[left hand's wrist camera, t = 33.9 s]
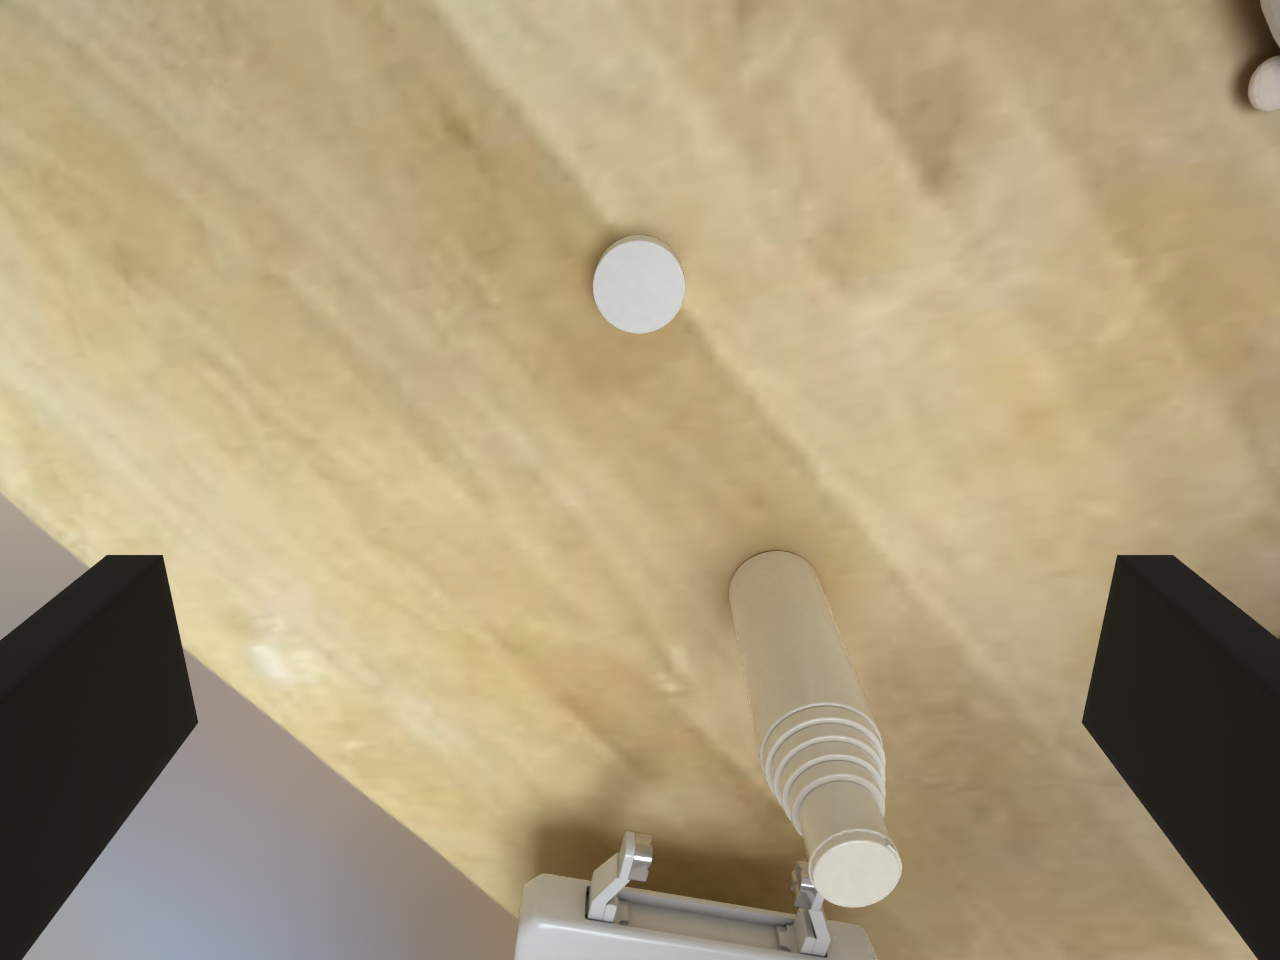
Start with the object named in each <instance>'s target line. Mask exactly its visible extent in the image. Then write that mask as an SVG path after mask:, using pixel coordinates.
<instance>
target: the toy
mask: <svg viewBox="0 0 1280 960" xmlns="http://www.w3.org/2000/svg"><path fill="white" fill-rule="evenodd" d="M1260 3H1261V8H1262V11H1263V14H1264V16H1265V19H1266V21H1267V23H1268V26H1269V28H1270V31H1271V33H1272V36H1273V38H1274V39H1275V41H1276V43H1277V44H1278V46H1279V47H1280V0H1260ZM1248 97H1249V101H1250V103H1251V104H1252V106H1253V107H1254V108H1256V109H1258V110H1259V111H1261V112H1272V111H1275V110H1278V109H1280V55H1279V56H1274V57H1271V58H1269V59H1267V60H1266V61H1264V62H1263V63H1262V64H1260V65H1259V66H1258V67H1257V69H1256V70H1255V72H1254V73H1253V74H1252V76H1251V79H1250V82H1249V85H1248Z"/></svg>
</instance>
